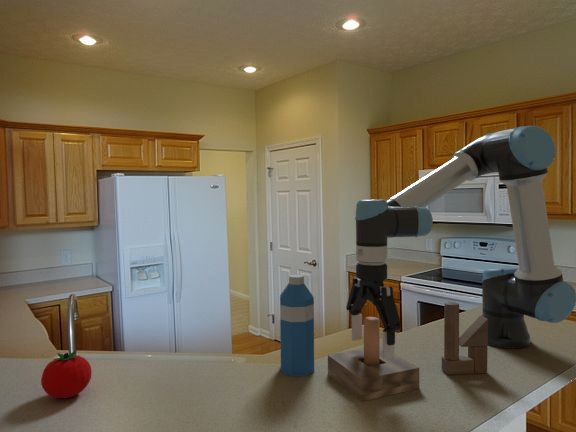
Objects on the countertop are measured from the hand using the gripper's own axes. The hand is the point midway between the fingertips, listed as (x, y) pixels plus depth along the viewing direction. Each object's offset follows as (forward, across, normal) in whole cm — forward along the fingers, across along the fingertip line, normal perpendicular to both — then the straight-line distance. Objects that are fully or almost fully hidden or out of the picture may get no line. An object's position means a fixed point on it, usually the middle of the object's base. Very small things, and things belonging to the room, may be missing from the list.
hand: (371, 348), depth 104 cm
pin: (+7, 0, 0) cm, 7 cm away
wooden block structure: (+8, +5, +25) cm, 27 cm away
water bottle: (+8, -14, -14) cm, 22 cm away
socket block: (+8, 0, 0) cm, 8 cm away
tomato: (+8, -22, -69) cm, 73 cm away
